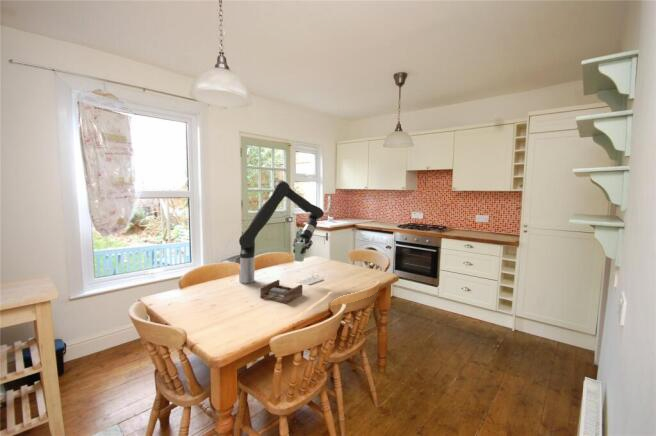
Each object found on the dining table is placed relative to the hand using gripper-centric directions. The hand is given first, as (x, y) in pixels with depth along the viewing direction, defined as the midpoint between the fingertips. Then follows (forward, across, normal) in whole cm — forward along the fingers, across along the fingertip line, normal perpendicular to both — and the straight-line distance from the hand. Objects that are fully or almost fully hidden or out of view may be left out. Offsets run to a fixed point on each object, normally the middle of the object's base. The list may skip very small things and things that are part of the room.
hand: (297, 253), depth 184 cm
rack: (+31, +4, 0) cm, 31 cm away
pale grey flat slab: (+12, 0, +20) cm, 24 cm away
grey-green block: (+3, 0, +5) cm, 6 cm away
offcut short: (+30, +4, -4) cm, 31 cm away
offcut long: (+32, +4, -3) cm, 32 cm away
